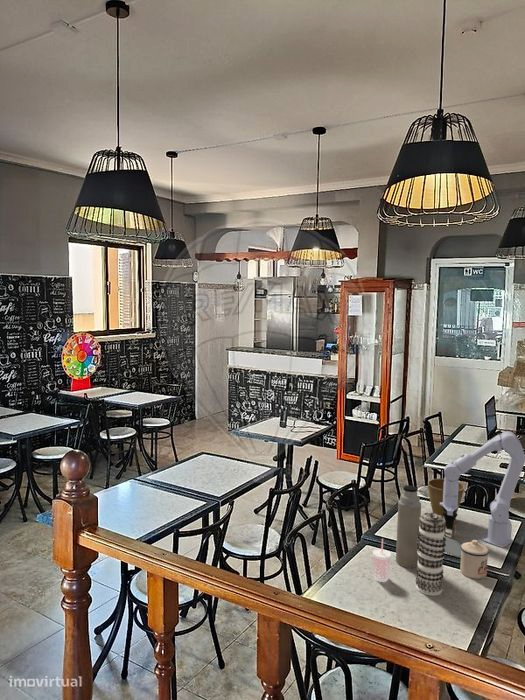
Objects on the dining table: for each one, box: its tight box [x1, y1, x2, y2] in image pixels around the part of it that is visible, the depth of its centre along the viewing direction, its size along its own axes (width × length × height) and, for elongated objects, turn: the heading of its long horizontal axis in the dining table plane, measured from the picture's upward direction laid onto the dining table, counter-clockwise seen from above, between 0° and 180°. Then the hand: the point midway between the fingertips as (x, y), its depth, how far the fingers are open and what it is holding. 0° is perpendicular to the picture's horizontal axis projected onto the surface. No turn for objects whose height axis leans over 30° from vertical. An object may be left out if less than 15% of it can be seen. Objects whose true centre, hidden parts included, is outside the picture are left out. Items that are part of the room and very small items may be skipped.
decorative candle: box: [415, 511, 446, 596], centre depth 175 cm, size 9×9×25 cm
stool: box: [443, 516, 457, 538], centre depth 218 cm, size 5×5×6 cm
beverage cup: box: [372, 538, 392, 583], centre depth 181 cm, size 6×6×14 cm
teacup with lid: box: [459, 539, 490, 580], centre depth 188 cm, size 12×9×12 cm
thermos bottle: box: [395, 485, 422, 569], centre depth 193 cm, size 8×8×28 cm
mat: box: [443, 536, 464, 558], centre depth 207 cm, size 12×12×1 cm
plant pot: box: [427, 478, 465, 518], centre depth 232 cm, size 15×15×16 cm
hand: (449, 526), depth 218 cm, fingers closed on stool, 5 cm apart
